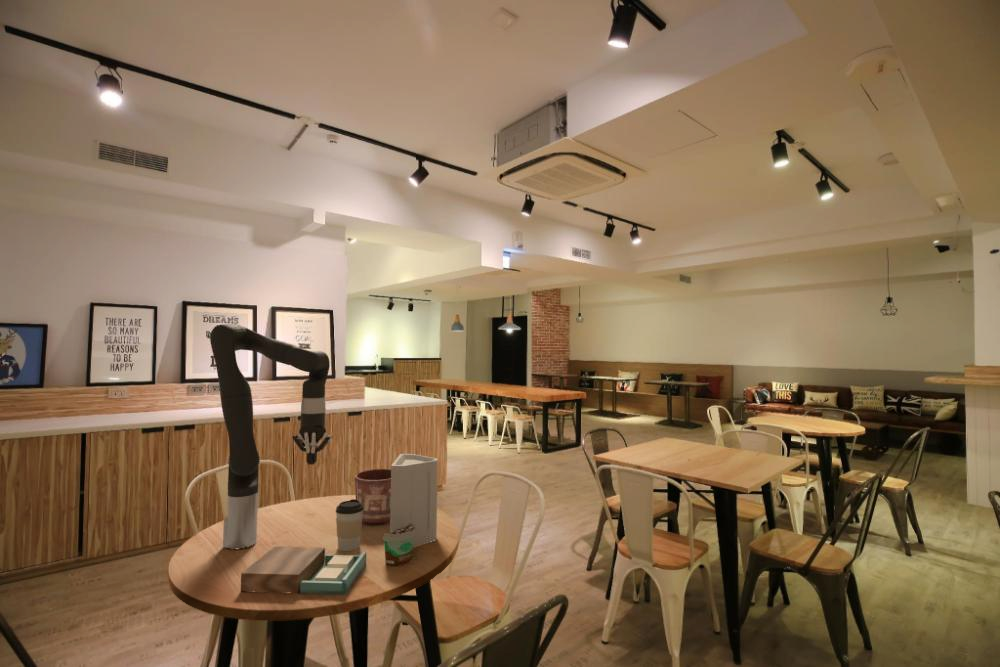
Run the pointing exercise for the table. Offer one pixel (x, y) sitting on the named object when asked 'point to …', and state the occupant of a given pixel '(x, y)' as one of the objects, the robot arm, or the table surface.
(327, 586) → the tray
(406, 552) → the food container
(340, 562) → the tile
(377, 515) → the pottery
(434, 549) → the table surface
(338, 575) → the tile
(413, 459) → the white wifi router
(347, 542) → the coffee cup
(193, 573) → the table surface
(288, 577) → the walnut board
